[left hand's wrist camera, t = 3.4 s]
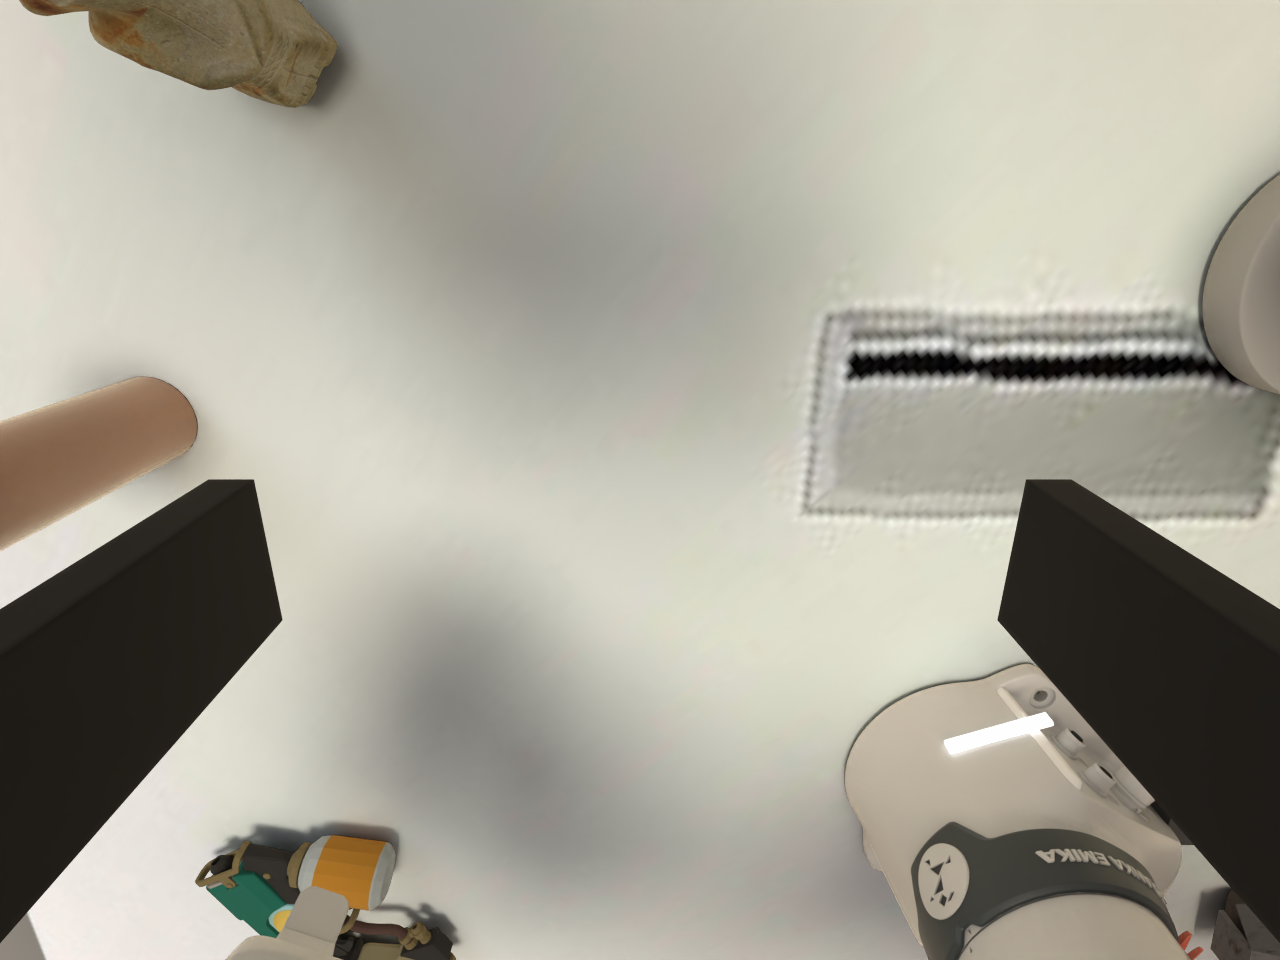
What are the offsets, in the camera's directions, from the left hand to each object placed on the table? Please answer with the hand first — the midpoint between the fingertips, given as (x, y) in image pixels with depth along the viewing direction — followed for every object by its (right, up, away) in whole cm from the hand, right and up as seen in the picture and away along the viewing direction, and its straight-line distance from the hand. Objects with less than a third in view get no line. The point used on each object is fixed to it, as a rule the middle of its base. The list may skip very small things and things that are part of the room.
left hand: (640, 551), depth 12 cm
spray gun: (-22, -30, +41) cm, 56 cm away
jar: (-28, +5, +28) cm, 40 cm away
